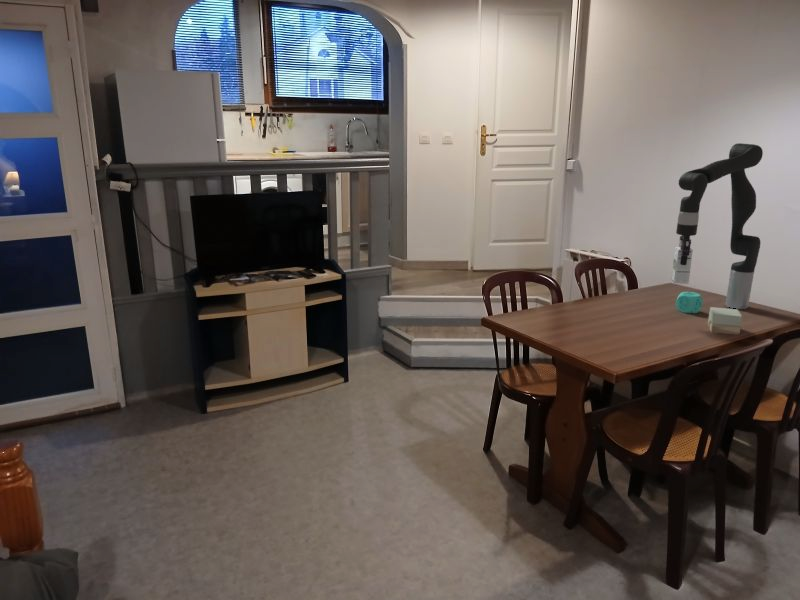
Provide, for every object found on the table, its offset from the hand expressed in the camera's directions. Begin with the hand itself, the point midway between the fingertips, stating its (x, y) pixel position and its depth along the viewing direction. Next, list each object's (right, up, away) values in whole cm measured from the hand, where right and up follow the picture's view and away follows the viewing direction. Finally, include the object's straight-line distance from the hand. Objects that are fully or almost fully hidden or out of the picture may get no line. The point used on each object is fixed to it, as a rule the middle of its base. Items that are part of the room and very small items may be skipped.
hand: (682, 263), depth 242 cm
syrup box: (0, -8, +2) cm, 8 cm away
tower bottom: (+15, -28, -4) cm, 32 cm away
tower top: (+15, -24, -5) cm, 29 cm away
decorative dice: (+13, -21, +21) cm, 32 cm away
